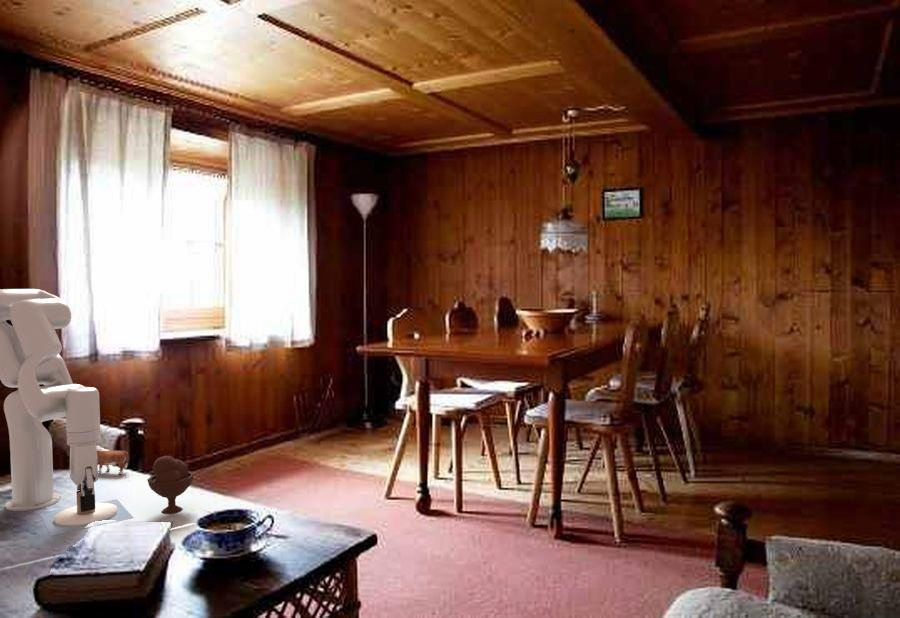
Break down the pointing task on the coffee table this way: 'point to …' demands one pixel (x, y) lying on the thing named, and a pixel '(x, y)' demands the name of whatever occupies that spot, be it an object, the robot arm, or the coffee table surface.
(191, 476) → the ice cream bowl
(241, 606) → the coffee table surface
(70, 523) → the lid
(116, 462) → the bull figurine
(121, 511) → the mat
